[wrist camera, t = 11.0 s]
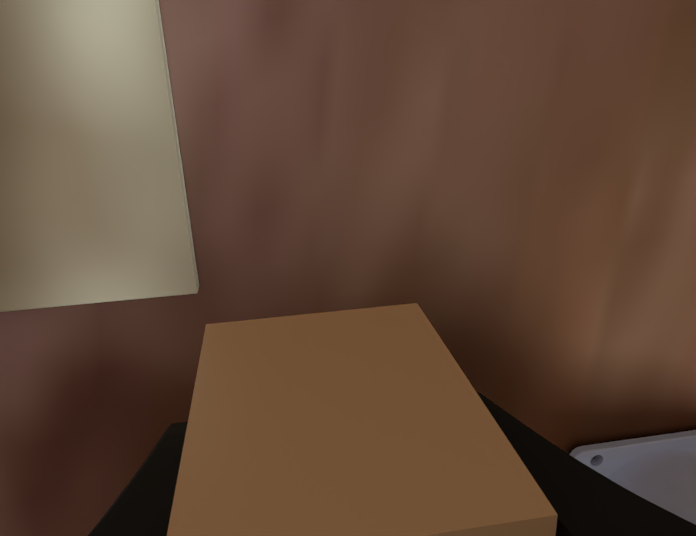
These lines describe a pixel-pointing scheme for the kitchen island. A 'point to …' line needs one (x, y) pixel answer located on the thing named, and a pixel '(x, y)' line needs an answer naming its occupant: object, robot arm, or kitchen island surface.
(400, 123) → the kitchen island surface
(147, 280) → the pad
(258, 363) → the tan rectangular block
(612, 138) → the kitchen island surface
